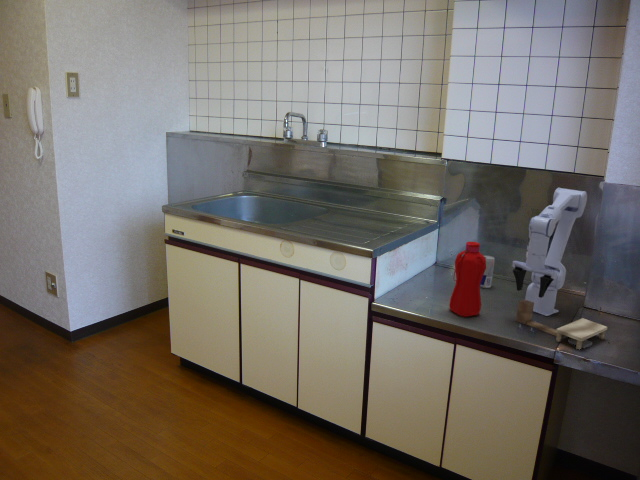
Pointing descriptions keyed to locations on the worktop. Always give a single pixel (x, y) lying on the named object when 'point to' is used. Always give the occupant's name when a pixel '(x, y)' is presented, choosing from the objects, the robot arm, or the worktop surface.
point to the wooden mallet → (530, 317)
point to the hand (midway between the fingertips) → (530, 293)
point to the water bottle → (468, 281)
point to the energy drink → (488, 272)
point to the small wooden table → (581, 331)
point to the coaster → (584, 343)
